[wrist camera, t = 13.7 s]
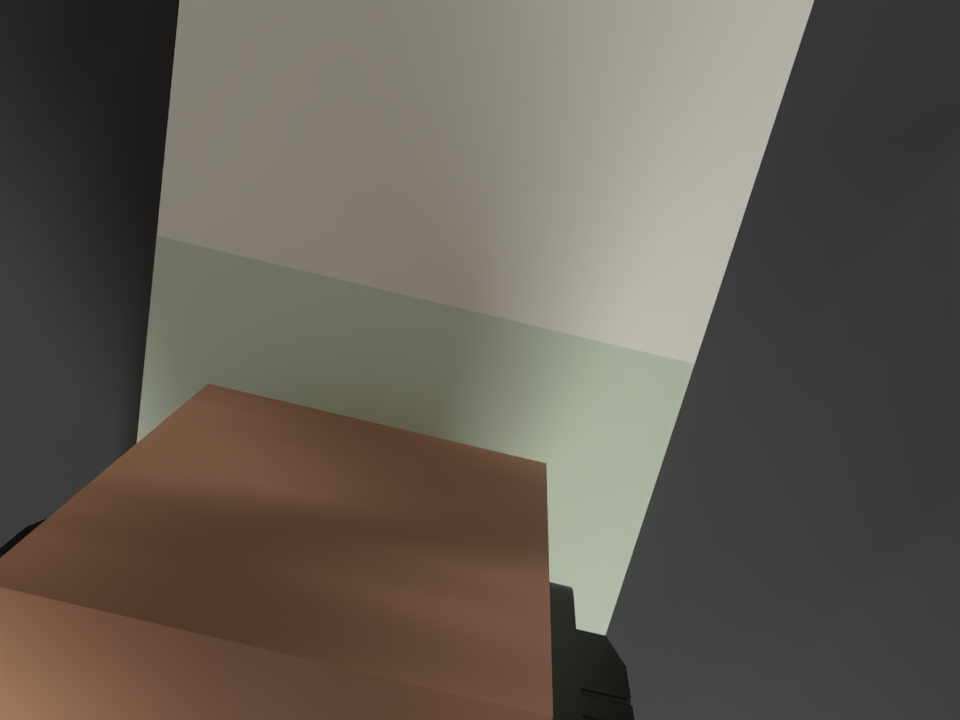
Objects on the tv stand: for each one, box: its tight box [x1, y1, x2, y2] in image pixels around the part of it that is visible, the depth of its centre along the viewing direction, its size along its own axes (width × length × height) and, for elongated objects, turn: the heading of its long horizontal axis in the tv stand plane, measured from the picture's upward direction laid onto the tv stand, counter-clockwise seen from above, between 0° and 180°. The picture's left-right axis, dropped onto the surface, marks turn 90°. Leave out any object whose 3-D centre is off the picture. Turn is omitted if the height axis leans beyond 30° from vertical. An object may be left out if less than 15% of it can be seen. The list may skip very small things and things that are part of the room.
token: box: [0, 384, 553, 720], centre depth 9 cm, size 4×4×4 cm
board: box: [137, 0, 814, 635], centre depth 12 cm, size 8×14×1 cm, turn 167°
